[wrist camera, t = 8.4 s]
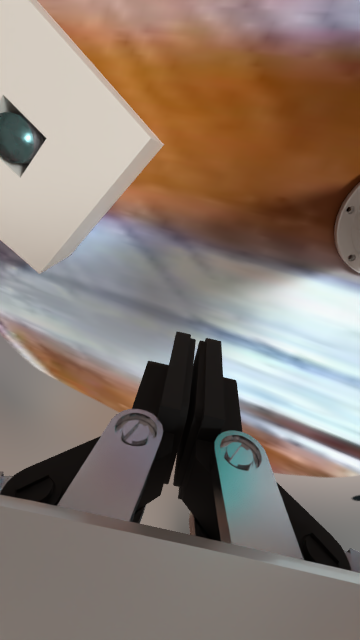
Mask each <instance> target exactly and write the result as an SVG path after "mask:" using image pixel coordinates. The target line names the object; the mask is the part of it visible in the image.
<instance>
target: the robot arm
mask: <svg viewBox="0 0 360 640" xmlns="http://www.w3.org/2000/svg"><path fill="white" fill-rule="evenodd" d="M348 207H349V208H350V209H349V211H346V210H347V208H348ZM334 239H335V245H336V248H337V251H338V253H339V255H340V257H341V258H342V260H343V261H344V262H345V263H346V264H347V265H348V266H349V267H350V268H352V269H353V270H355V271H356V272H358V273H360V182H359V183H358V184H357V185H356V186H355V187H354V189H353V190H352V191H351V192H350V193H349V194H348V196H347V197H346V199H345V200H344V202H343V204H342V206H341V208H340V210H339V212H338V215H337V218H336V223H335V229H334ZM349 255H351V257H349V258H348V256H349ZM190 337H191V335H190V334H186V333H181V332H176V336H175V341H174V345H173V350H172V354H171V359H170V363H169V365H165V364H161V363H156V362H152V361H148V363H147V366H146V369H145V372H144V375H143V378H142V381H141V384H140V386H139V389H138V392H137V395H136V398H135V401H134V404H133V407H132V409H128V410H125V411H122V412H120V413H118V414H116V416H114V418H113V419H112V420H111V421H110V423H109V425H108V426H107V428H106V429H105V431H104V432H103V434H102V435H101V436H100V437H98V438H96V439H93V440H91V441H88V442H86V443H84V444H82V445H79V446H77V447H75V448H72V449H70V450H67V451H65V452H63V453H61V454H58V455H56V456H54V457H51V458H49V459H47V460H44V461H42V462H40V463H37V464H35V465H33V466H30V467H28V468H26V469H24V470H22V471H20V472H19V473H17V474H16V475H14V476H4V474H3V472H0V640H360V552H358V551H356V550H353V549H351V548H350V549H349V550H348V551H347V552H346V551H344V550H343V549H342V547H341V546H340V545H339V543H338V542H337V541H336V540H335V539H334V538H333V536H332V535H331V534H330V533H329V532H327V531H326V530H325V529H324V528H323V527H322V526H321V525H320V524H319V523H318V522H317V521H316V520H315V519H314V518H313V517H312V516H311V515H310V514H309V513H308V512H307V511H306V510H305V509H304V508H303V507H302V506H301V505H300V504H299V503H298V502H296V501H295V500H294V499H293V498H292V497H291V496H290V495H289V494H288V493H287V492H286V491H285V490H284V489H283V488H282V487H281V486H280V485H279V484H278V483H277V482H276V480H275V477H274V474H273V472H272V469H271V466H270V463H269V460H268V457H267V455H266V452H265V451H264V449H263V447H262V446H261V445H260V443H259V442H258V441H257V440H255V439H254V438H253V437H251V436H250V435H248V434H246V433H243V432H242V425H241V416H240V407H239V399H238V390H237V383H236V380H233V379H229V378H224V377H223V369H222V349H221V341H217V340H213V339H208V338H206V340H205V342H204V341H200V342H199V345H198V349H197V353H196V356H195V360H194V351H195V341H196V340H195V339H191V338H190ZM193 361H194V364H193ZM176 455H177V458H176ZM175 458H176V467H175V475H174V483H173V485H174V486H178V487H179V495H178V498H179V499H182V500H183V502H184V503H185V505H186V506H187V507H188V509H189V510H190V514H189V528H190V535H188V534H184V533H179V532H175V531H170V530H166V529H161V528H157V527H152V526H148V525H143V524H140V521H141V519H142V516H143V513H144V510H145V506H146V504H147V503H149V502H151V501H152V500H154V499H155V498H157V497H158V496H160V495H161V491H162V487H163V484H168V483H169V479H170V476H171V472H172V469H173V465H174V462H175Z"/></svg>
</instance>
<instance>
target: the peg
mask: <svg viewBox="0 0 360 640" xmlns="http://www.w3.org/2000/svg"><path fill="white" fill-rule="evenodd" d="M45 140H46V137H45V136H44V135H43V134H42V133H41V132H40V131H39V130H38V129H37V128H36V127H35V126H34V125H33V124H32V123H31V122H30V121H29V120H28V119H27V118H26V117H25V116H22V115H18V114H15V113H11V112H3V113H0V155H1V156H2V157H3V158H4V159H6V160H7V161H9V162H12V163H24V164H30V163H31V161H32V160H33V158H34V157H35V155H36V154H37V152H38V151H39V149H40V148H41V146H42V145H43V143H44V142H45Z"/></svg>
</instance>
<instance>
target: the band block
mask: <svg viewBox="0 0 360 640" xmlns="http://www.w3.org/2000/svg"><path fill="white" fill-rule="evenodd" d="M3 112H11V113H15V114H18V115H22V116H25V117H26V118H27V119H28V120H29V121H30V122H31V123H32V124H33V125H34V126H35V127H36V128H37V129H38V130H39V131H40V132H41V133H42V134H43V135H44V136H45V137H46V140H45V142H44V143H43V145H42V146H41V148H40V149H39V151H38V152H37V154H36V155H35V157H34V158H33V160H32V161H31V163H30V164H24V163H12V162H9V161H7V160H6V159H4V158H3V157H2V156H1V155H0V240H1V241H2V242H3V243H4V244H6V245H7V246H8V247H9V248H10V249H11V250H13V251H14V252H15V253H16V254H17V255H18V256H19V257H21V258H22V259H23V260H24V261H25V262H26V263H28V264H29V265H30V266H31V267H32V268H33V269H35V270H36V271H37V272H38V273H39V274H40V273H42V272H44V271H45V270H47V269H49V268H50V267H52V266H54V265H55V264H57V263H59V262H60V261H62V260H64V259H65V258H67V257H69V256H70V255H71V254H72V253H73V252H74V251H75V249H76V248H77V247H78V246H79V245H80V243H81V242H82V241H83V240H84V239H85V238H86V236H87V235H88V234H89V233H90V232H91V230H92V229H93V228H94V227H95V226H96V225H97V223H98V222H99V221H100V220H101V219H102V217H103V216H104V215H105V214H106V213H107V212H108V210H109V209H110V208H111V207H112V206H113V204H114V203H115V202H116V201H117V200H118V199H119V197H120V196H121V195H122V194H123V193H124V191H125V190H126V189H127V188H128V187H129V186H130V184H131V183H132V182H133V181H134V180H135V178H136V177H137V176H138V175H139V174H140V173H141V171H142V170H143V169H144V168H145V167H146V165H147V164H148V163H149V162H150V161H151V160H152V158H153V157H154V156H155V155H156V154H157V152H158V151H159V150H160V149H161V148H162V147H163V145H164V144H163V143H162V142H161V141H160V140H159V139H158V138H157V136H156V135H155V134H154V133H153V132H152V131H151V130H150V128H149V127H148V126H147V125H146V124H145V123H144V122H143V120H142V119H141V118H140V117H139V116H138V115H137V114H136V112H135V111H134V110H133V109H132V108H131V107H130V106H129V105H128V103H127V102H126V101H125V100H124V99H123V98H122V97H121V95H120V94H119V93H118V92H117V91H116V90H115V89H114V87H113V86H112V85H111V84H110V83H109V82H108V81H107V79H106V78H105V77H104V76H103V75H102V74H101V73H100V72H99V70H98V69H97V68H96V67H95V66H94V65H93V64H92V62H91V61H90V60H89V59H88V58H87V57H86V56H85V54H84V53H83V52H82V51H81V50H80V49H79V48H78V46H77V45H76V44H75V43H74V42H73V41H72V40H71V39H70V37H69V36H68V35H67V34H66V33H65V32H64V31H63V29H62V28H61V27H60V26H59V25H58V24H57V23H56V21H55V20H54V19H53V18H52V17H51V16H50V15H49V13H48V12H47V11H46V10H45V9H44V8H43V7H42V6H41V4H40V3H39V2H38V1H37V0H0V113H3Z"/></svg>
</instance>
